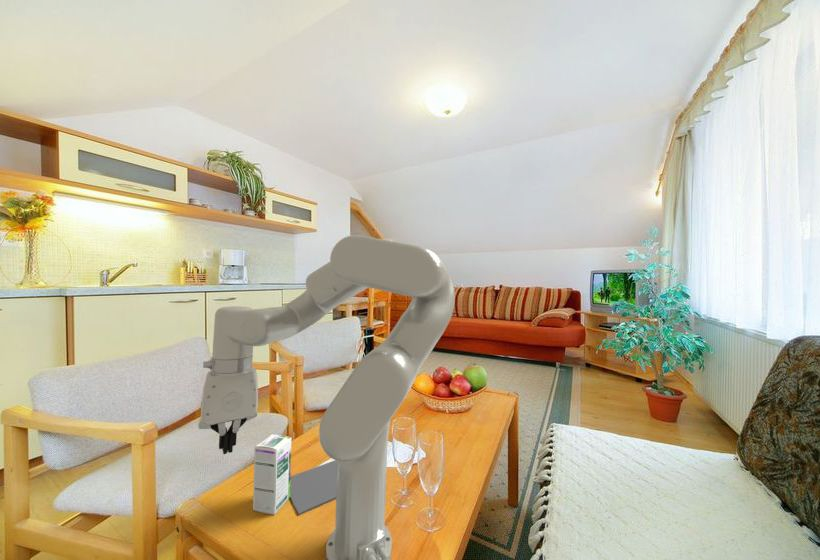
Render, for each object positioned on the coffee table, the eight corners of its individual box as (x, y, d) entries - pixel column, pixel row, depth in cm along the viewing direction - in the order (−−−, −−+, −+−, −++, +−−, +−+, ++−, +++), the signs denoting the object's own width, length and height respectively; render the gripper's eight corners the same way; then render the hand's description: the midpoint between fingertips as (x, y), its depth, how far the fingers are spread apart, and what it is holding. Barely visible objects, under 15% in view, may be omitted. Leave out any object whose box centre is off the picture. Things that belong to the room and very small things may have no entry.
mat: (359, 488, 74) (359, 486, 74) (298, 515, 65) (298, 513, 65) (336, 461, 85) (336, 459, 85) (281, 481, 76) (281, 479, 76)
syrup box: (274, 515, 64) (277, 449, 65) (251, 510, 65) (254, 445, 66) (290, 497, 70) (292, 436, 70) (268, 493, 71) (271, 433, 71)
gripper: (189, 373, 55) (182, 471, 55) (274, 364, 65) (269, 448, 64) (188, 364, 61) (182, 452, 61) (266, 356, 70) (261, 433, 70)
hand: (227, 450), depth 63 cm, fingers closed
